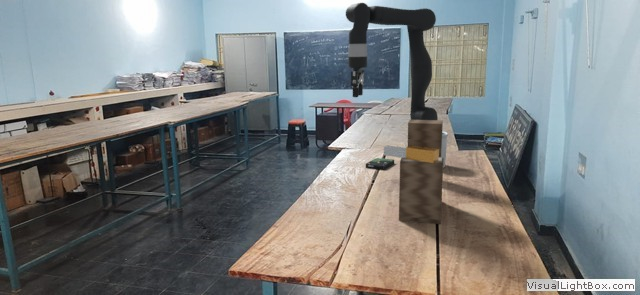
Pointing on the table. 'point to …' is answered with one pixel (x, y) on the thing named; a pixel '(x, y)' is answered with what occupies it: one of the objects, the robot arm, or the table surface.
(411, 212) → the zigzag patterned block
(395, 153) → the bar
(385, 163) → the disk drive
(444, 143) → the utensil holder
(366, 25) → the robot arm
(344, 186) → the table surface
